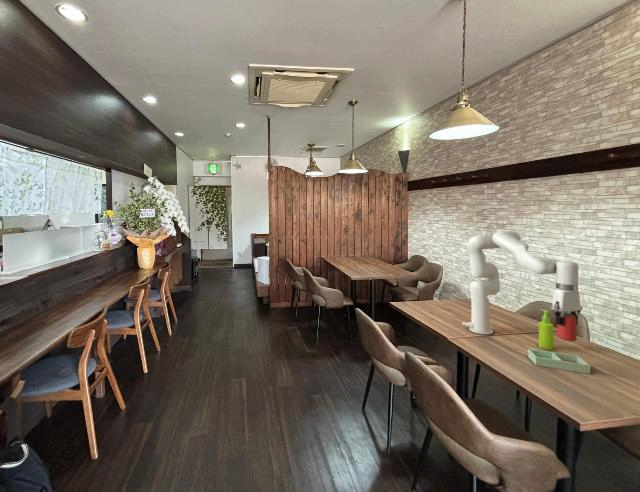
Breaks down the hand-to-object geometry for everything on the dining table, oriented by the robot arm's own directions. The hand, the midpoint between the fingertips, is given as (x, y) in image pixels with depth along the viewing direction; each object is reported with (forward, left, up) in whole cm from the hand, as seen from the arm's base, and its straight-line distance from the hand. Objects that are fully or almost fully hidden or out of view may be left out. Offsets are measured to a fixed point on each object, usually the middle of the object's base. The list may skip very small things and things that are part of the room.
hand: (566, 324), depth 137 cm
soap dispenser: (-1, +20, -20) cm, 29 cm away
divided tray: (-4, -1, -20) cm, 20 cm away
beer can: (0, 0, -7) cm, 7 cm away
